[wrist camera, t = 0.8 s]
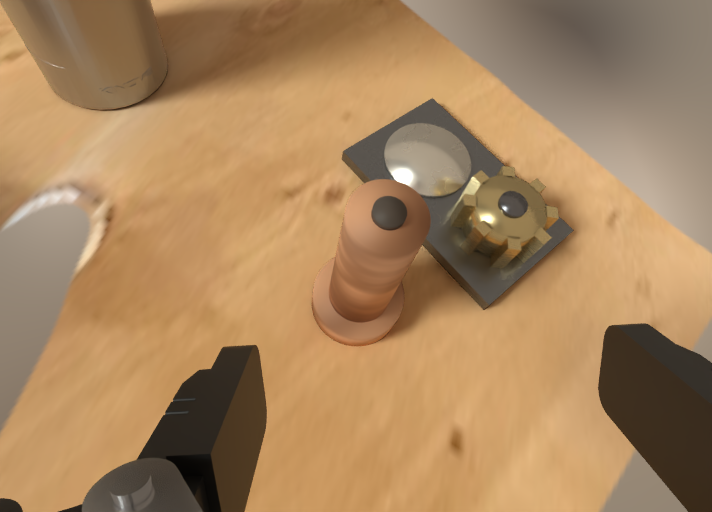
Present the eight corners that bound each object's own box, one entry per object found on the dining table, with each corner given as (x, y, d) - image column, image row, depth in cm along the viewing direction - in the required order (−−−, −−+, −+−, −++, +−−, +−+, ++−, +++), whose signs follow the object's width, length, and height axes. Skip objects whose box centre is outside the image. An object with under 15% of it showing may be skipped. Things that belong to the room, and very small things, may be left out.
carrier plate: (341, 159, 37) (343, 148, 36) (429, 106, 41) (433, 95, 40) (483, 309, 33) (490, 303, 32) (566, 236, 37) (575, 228, 36)
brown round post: (294, 295, 32) (296, 197, 21) (360, 249, 34) (394, 137, 23) (350, 364, 30) (384, 298, 19) (415, 311, 33) (480, 223, 21)
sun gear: (432, 218, 35) (446, 193, 32) (491, 175, 37) (509, 147, 34) (497, 285, 33) (519, 266, 30) (555, 235, 36) (580, 212, 33)
